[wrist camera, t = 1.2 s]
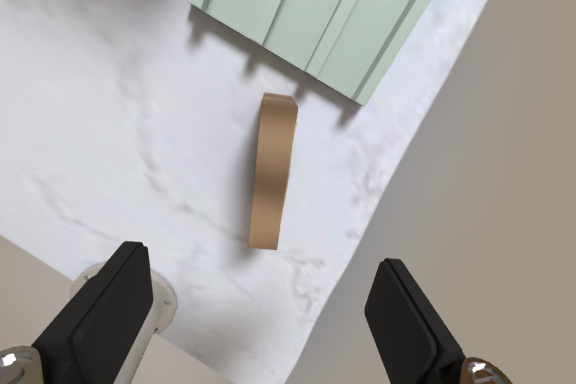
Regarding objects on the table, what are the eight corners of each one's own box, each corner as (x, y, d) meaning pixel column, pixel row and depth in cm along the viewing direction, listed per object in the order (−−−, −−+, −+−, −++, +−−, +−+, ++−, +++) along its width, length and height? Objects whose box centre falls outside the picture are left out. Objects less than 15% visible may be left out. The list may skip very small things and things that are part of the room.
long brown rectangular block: (277, 206, 30) (279, 250, 23) (253, 204, 30) (247, 247, 23) (293, 96, 25) (301, 108, 18) (264, 92, 25) (261, 102, 18)
